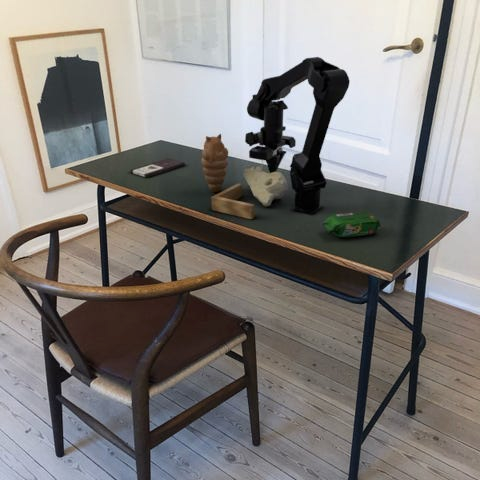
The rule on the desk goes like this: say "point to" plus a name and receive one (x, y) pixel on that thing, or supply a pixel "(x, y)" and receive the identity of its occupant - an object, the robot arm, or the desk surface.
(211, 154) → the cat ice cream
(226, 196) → the corner stop
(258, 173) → the pale lumpy rock
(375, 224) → the snack package
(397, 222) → the desk surface
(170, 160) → the chocolate bar
